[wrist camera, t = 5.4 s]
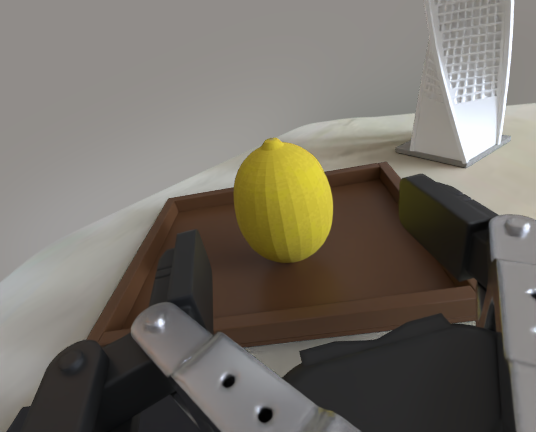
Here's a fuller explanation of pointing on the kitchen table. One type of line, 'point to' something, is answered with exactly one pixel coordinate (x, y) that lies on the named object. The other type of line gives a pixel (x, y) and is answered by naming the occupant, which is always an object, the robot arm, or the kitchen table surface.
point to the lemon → (283, 202)
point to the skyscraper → (463, 81)
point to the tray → (301, 270)
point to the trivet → (141, 418)
